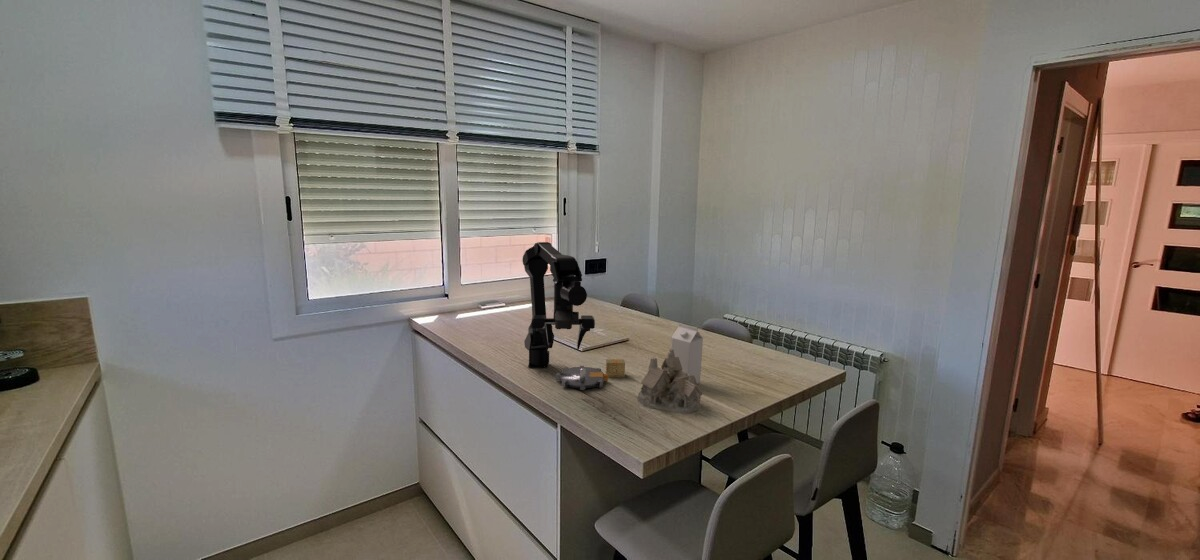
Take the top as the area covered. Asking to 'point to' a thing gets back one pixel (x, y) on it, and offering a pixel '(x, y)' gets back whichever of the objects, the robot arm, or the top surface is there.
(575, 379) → the sprocket
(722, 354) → the top surface
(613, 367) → the orange banded block
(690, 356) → the milk carton
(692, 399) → the ceramic cottage
